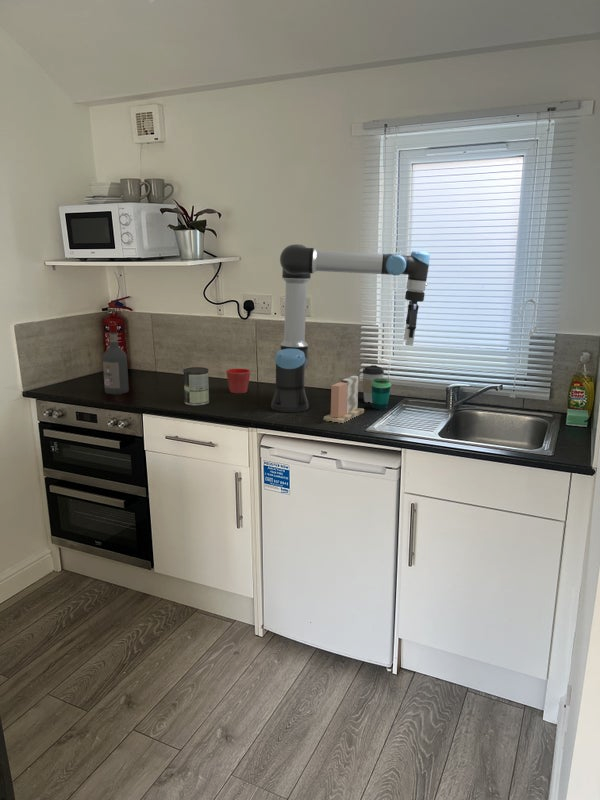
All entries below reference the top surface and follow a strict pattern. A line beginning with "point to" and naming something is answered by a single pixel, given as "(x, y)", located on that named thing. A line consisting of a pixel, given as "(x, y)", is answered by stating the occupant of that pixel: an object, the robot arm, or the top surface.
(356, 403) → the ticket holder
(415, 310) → the robot arm
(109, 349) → the liquor
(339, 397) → the salmon orange block
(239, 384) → the flower pot
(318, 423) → the top surface
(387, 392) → the cup
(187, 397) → the coffee can
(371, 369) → the coffee cup
